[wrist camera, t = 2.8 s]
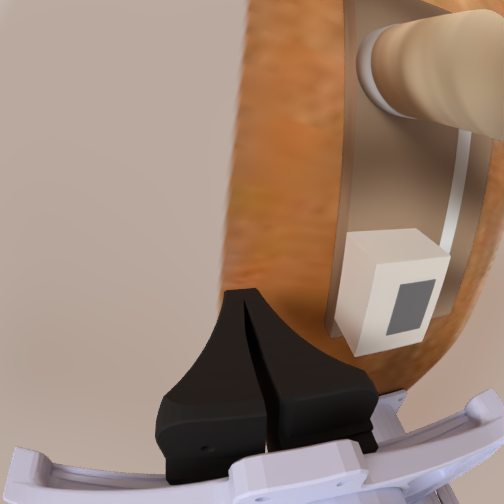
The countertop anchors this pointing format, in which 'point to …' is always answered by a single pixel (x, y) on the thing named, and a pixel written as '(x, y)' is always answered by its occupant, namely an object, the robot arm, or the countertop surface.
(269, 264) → the countertop surface
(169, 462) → the robot arm
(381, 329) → the block
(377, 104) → the tan rounded cylinder
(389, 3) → the board
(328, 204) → the countertop surface
